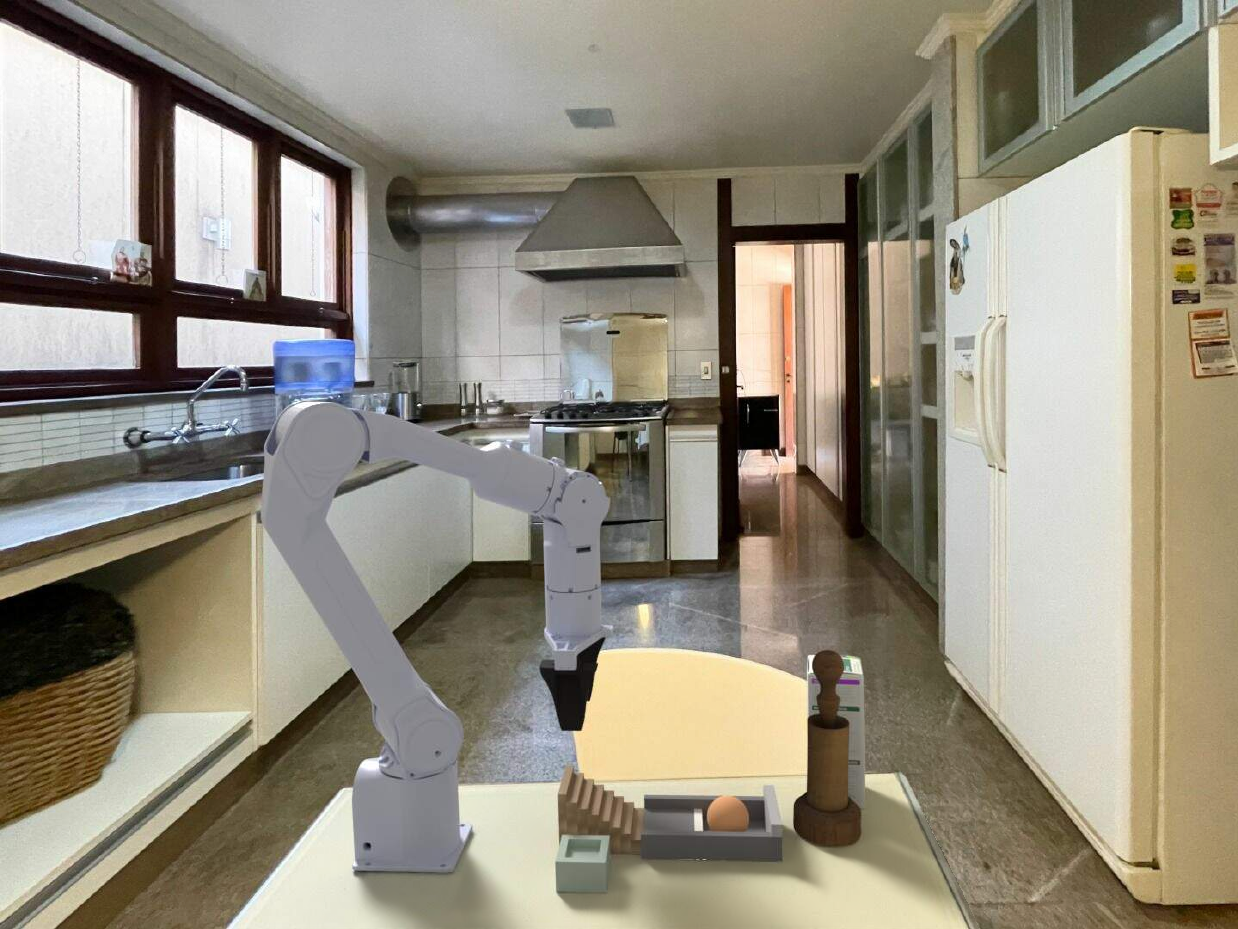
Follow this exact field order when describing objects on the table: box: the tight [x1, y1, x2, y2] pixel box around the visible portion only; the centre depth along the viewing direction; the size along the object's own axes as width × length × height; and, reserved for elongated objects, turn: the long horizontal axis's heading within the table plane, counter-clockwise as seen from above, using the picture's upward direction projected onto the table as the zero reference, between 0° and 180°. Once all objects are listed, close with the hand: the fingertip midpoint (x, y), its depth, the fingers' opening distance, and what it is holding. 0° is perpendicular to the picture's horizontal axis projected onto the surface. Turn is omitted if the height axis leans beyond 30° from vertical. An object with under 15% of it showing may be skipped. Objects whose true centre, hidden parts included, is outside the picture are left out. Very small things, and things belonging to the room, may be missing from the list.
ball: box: [707, 795, 749, 832], centre depth 83 cm, size 4×4×4 cm
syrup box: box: [806, 654, 866, 810], centre depth 91 cm, size 6×6×14 cm
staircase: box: [557, 764, 644, 855], centre depth 84 cm, size 8×6×6 cm
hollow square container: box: [554, 835, 611, 894], centre depth 78 cm, size 4×4×3 cm
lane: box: [640, 784, 783, 863], centre depth 84 cm, size 13×8×4 cm, turn 86°
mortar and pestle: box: [792, 649, 862, 848], centre depth 84 cm, size 7×6×18 cm
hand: (576, 714), depth 90 cm, fingers open, 7 cm apart
